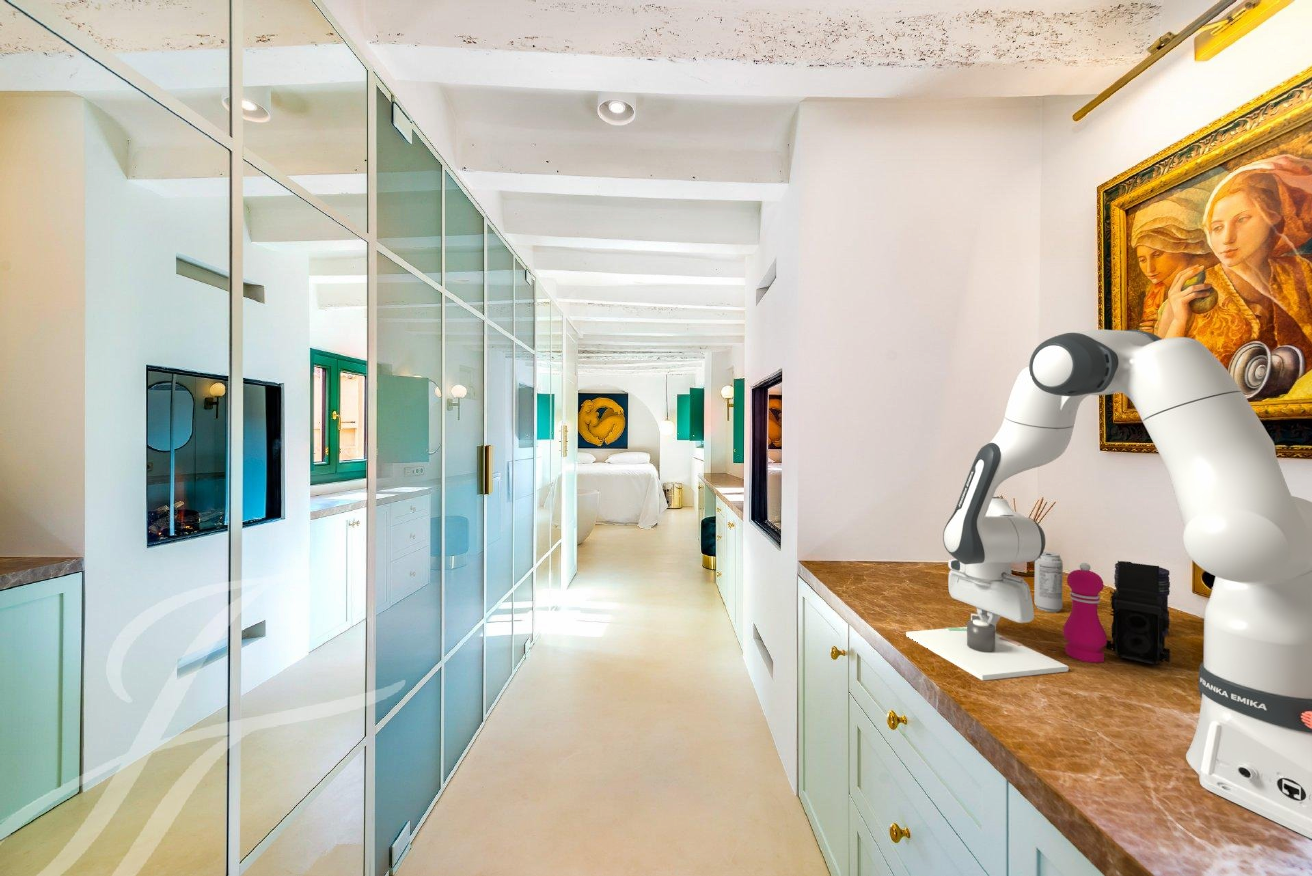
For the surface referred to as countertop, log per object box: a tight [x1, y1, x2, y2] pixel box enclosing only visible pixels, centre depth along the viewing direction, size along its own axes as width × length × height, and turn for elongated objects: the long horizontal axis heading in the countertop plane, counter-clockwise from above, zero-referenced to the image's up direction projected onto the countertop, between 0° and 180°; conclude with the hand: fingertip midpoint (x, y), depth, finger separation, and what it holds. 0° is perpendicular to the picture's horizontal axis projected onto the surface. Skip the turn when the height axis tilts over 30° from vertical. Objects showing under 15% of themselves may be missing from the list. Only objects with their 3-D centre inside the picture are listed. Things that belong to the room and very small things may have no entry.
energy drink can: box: [1033, 551, 1064, 613], centre depth 139 cm, size 6×6×15 cm
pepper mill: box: [1062, 562, 1108, 664], centre depth 110 cm, size 7×7×20 cm
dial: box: [966, 613, 996, 652], centre depth 115 cm, size 13×5×5 cm, turn 153°
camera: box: [1105, 560, 1171, 666], centre depth 108 cm, size 10×14×20 cm
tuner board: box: [905, 626, 1069, 681], centre depth 112 cm, size 22×20×1 cm
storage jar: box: [1113, 562, 1171, 637], centre depth 125 cm, size 10×10×15 cm
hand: (988, 629), depth 116 cm, fingers closed, pressing on dial
